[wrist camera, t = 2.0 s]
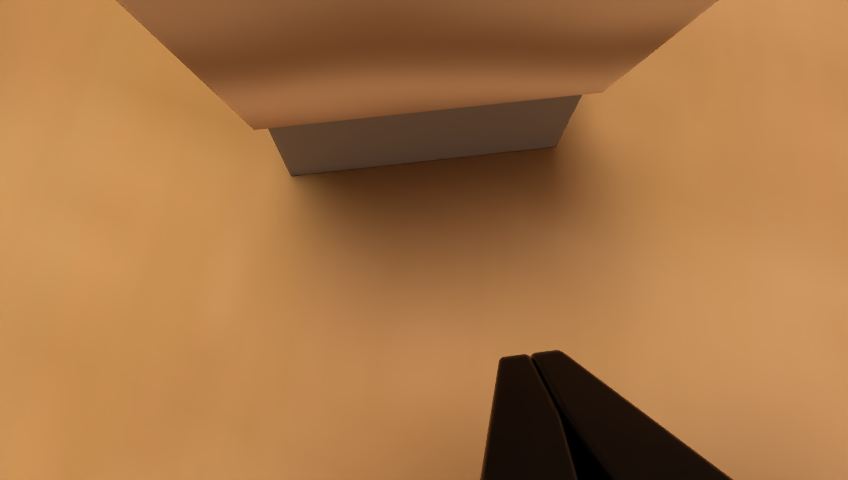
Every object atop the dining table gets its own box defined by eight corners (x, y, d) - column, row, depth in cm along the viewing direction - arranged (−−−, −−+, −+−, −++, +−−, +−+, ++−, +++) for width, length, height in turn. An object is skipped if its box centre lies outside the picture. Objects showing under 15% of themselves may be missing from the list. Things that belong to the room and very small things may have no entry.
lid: (599, 72, 19) (602, 92, 19) (251, 109, 18) (254, 129, 18) (847, -150, 9) (852, -107, 9) (72, -82, 8) (77, -36, 8)
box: (555, 146, 24) (591, 75, 19) (290, 176, 23) (259, 110, 18) (511, -68, 26) (533, -177, 22) (274, -46, 26) (243, -153, 21)
